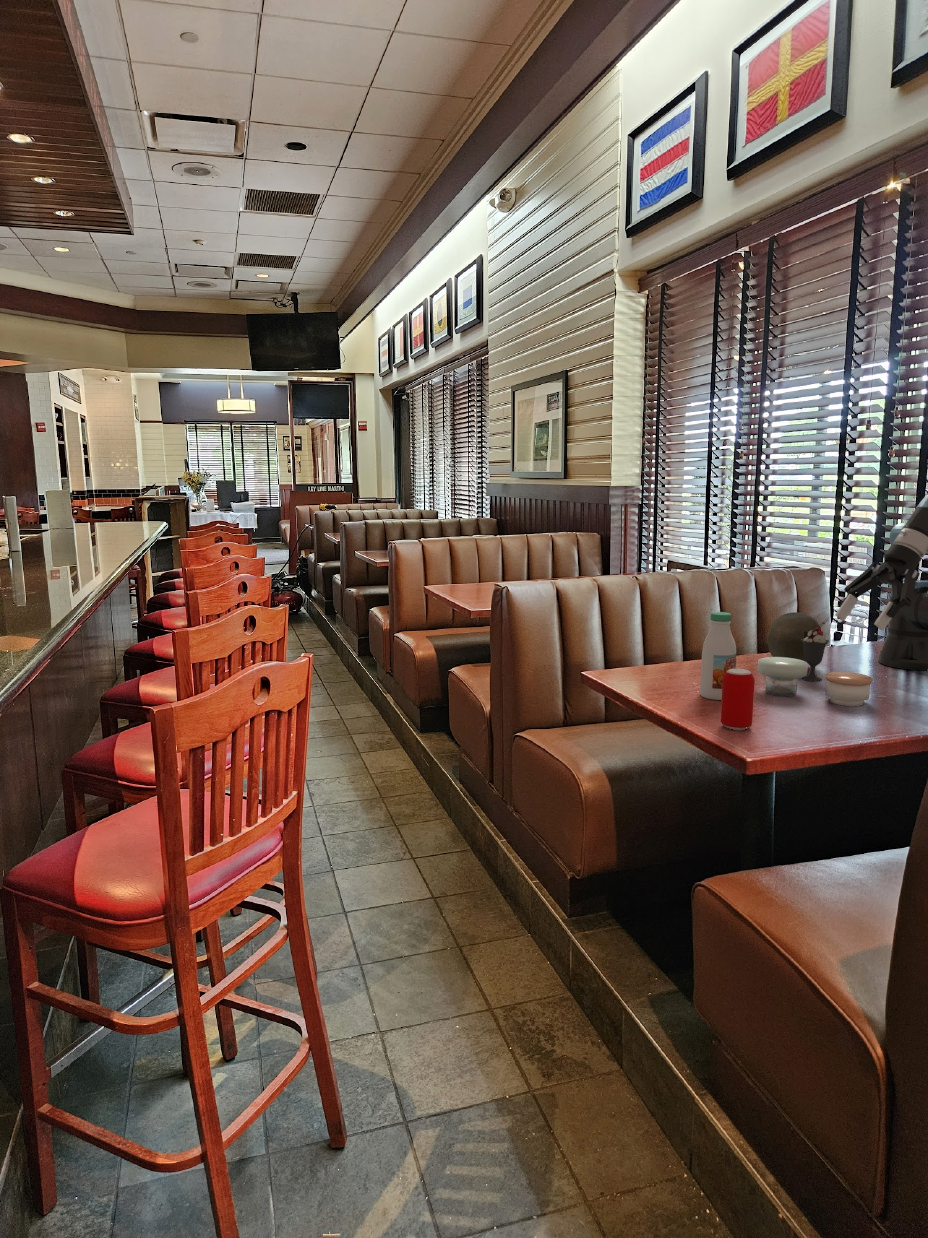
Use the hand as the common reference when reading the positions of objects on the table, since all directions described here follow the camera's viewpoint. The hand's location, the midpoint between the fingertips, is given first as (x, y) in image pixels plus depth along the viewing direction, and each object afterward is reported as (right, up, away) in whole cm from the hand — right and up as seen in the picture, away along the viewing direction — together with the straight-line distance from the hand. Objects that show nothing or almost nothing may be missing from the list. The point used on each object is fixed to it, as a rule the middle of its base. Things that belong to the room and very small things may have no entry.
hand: (858, 622), depth 198 cm
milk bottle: (-37, -18, -8) cm, 42 cm away
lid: (-21, -12, -6) cm, 25 cm away
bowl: (-9, -18, -13) cm, 24 cm away
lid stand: (-21, -17, -5) cm, 27 cm away
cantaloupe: (-8, -12, +19) cm, 24 cm away
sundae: (-8, -15, +7) cm, 18 cm away
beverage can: (-41, -22, -31) cm, 56 cm away
